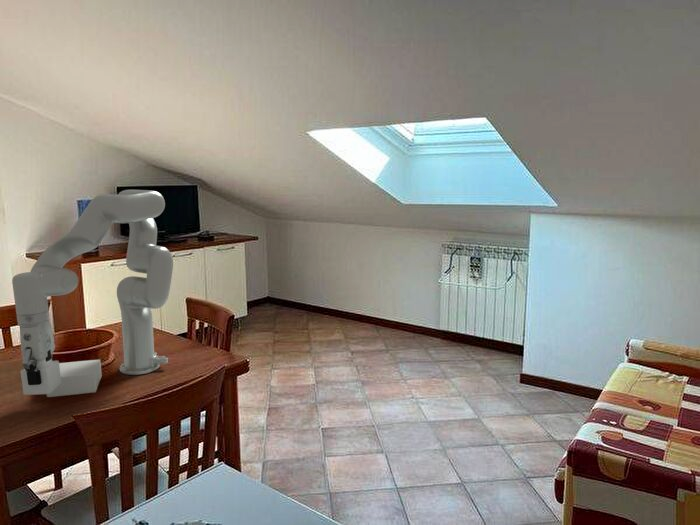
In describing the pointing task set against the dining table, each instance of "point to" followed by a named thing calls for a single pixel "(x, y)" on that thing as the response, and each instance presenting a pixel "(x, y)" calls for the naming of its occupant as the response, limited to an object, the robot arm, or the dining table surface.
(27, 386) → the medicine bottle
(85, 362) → the grey block
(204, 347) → the dining table surface
